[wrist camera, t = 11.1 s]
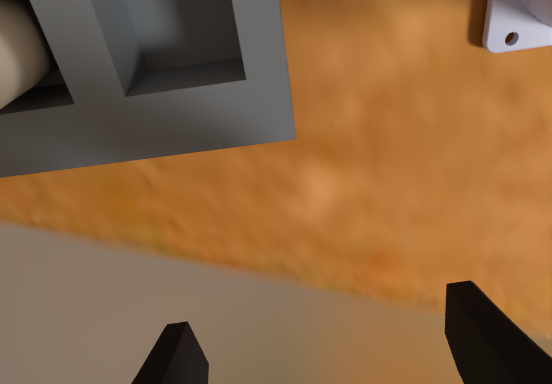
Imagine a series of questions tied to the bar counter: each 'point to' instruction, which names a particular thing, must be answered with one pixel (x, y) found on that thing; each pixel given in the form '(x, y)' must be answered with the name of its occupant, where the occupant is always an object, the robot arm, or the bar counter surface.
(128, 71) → the socket block
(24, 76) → the dowel
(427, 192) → the bar counter surface
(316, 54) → the bar counter surface
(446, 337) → the robot arm
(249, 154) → the bar counter surface
